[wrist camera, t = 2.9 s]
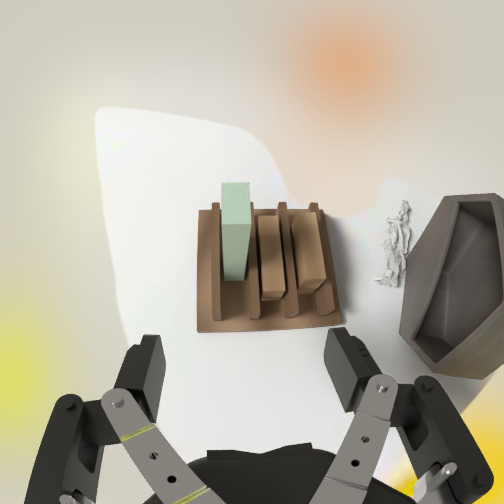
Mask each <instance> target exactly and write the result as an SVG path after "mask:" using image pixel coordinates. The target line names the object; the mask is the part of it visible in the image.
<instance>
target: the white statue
mask: <svg viewBox="0 0 504 504" xmlns="http://www.w3.org/2000/svg"><path fill="white" fill-rule="evenodd" d="M403 201H404V202H403V204H402V206H403V207H400V208H402V209H401V211H400V212H399V217H388V219H386V220H387V221H386V222H388V223H389V224H390V225H391V226H392V227H390V228H389V229H388V231H389V233H390V232H391V230H392V232H391V235H390V238H389V239H388V240H385V242H384V243H383V244H382V247H383V248H384V249H386V251H385V253H386V257H387V265H386V267H387V268H386V271H385V273H384V274H383V275H381V276H379V277H376V278H374V281H375V280H380V281H381V282H380V285H381V284H385V285H389V286H390V285H392V286H393V287H396V286H397V285H398V281H397V277H398V275H399V276H400V277H402V276H403V275H404V274H403V275H402V273H403V271H404V270H405V265H406V259H405V256H404V254H406V253H407V247H408V240H409V237H410V228H409V227H408V226H407V222H408V216H407V211H408V209H410V210H412V209H411V208H410V207H409V205H408V202H407V201H406V200H403ZM406 219H407V221H406Z"/></svg>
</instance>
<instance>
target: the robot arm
mask: <svg viewBox="0 0 504 504" xmlns="http://www.w3.org/2000/svg"><path fill="white" fill-rule="evenodd" d="M324 363H325V366H326V368H327V370H328V373H329V375H330V377H331V380H332V382H333V384H334V387H335V389H336V392H337V394H338V396H339V399H340V401H341V404H342V406H343V408H344V411H345V413H347V412H352V411H354V414H355V416H354V419H353V421H352V423H351V425H350V428H349V430H348V432H347V434H346V436H345V438H344V440H343V442H342V445H341V447H340V449H339V451H338V453H337V455H336V454H334V453H331V452H328V451H325V450H320V449H313V448H312V444H311V442H310V443H303V444H296V445H288V446H284V447H281V448H278V449H275V450H272V451H269V452H265V453H262V454H257V453H250V452H243V451H237V450H207V457H203V458H200V459H197V460H194V461H192V462H190V463H188V464H186V463H185V462H184V461H183V460H182V458H181V457H180V456H179V455H178V454H177V452H176V451H175V450H174V449H173V448H172V446H171V445H170V444H169V443H168V441H167V440H166V439H165V438H164V436H163V435H162V434H161V432H160V431H159V430H158V428H157V427H156V426H155V425H152V424H151V423H156V419H157V413H158V407H159V402H160V396H161V391H162V386H163V381H164V376H165V370H166V362H165V356H164V352H163V347H162V342H161V338H160V335H143V338H142V340H141V343H140V345H133V346H132V347H131V348H130V349H129V350H128V351H127V353H126V356H125V358H124V361H123V363H122V367H121V369H120V371H119V374H118V377H117V380H116V383H115V386H114V388H113V389H111V390H109V391H108V392H106V393H105V394H104V395H103V396H102V399H100V400H95V401H88V402H83V401H82V399H81V398H80V397H79V396H78V395H75V394H66V395H64V396H62V397H60V398H59V399H58V400H57V402H56V404H55V406H54V409H53V412H52V414H51V416H50V419H49V422H48V424H47V427H46V430H45V433H44V436H43V438H42V441H41V445H40V447H39V451H38V454H37V457H36V460H35V463H34V467H33V470H32V474H31V477H30V481H29V485H28V489H27V493H26V497H25V501H24V504H95V503H96V495H97V488H98V481H99V475H100V468H101V463H102V457H103V451H104V446H105V445H111V444H119V443H122V444H123V445H124V447H125V449H126V450H127V452H128V453H129V455H130V457H131V458H132V460H133V461H134V463H135V465H136V466H137V467H138V469H139V471H140V472H141V473H142V475H143V476H144V478H145V479H146V481H147V482H148V483H149V485H150V486H151V488H152V489H153V490H154V492H155V494H153V495H152V496H151V497H150V498H149V499H148V500H147V501H145V502H144V503H143V504H472V503H474V502H475V501H476V500H478V499H479V498H481V497H482V496H483V495H485V494H486V493H487V492H488V491H489V490H490V489H491V488H492V486H493V482H494V476H493V473H492V471H491V469H490V467H489V465H488V464H487V462H486V460H485V458H484V456H483V454H482V452H481V450H480V449H479V447H478V445H477V444H476V442H475V440H474V438H473V436H472V435H471V433H470V431H469V429H468V428H467V426H466V424H465V423H464V421H463V419H462V418H461V416H460V415H459V413H458V411H457V410H456V408H455V406H454V405H453V403H452V402H451V400H450V399H449V397H448V395H447V394H446V392H445V391H444V389H443V388H442V386H441V385H440V383H439V382H438V381H437V380H436V379H435V378H433V377H431V376H420V377H418V378H417V379H416V380H415V382H414V384H397V382H396V381H395V380H394V379H393V378H392V377H390V376H388V375H384V374H382V372H381V371H380V369H379V367H378V366H377V364H376V363H375V361H374V359H373V358H372V356H370V353H369V351H368V350H367V348H366V346H365V345H364V343H363V342H362V341H361V340H360V339H358V338H357V337H356V336H350V335H349V333H348V331H347V330H346V328H345V327H340V328H331V329H329V330H328V334H327V340H326V345H325V350H324ZM389 427H396V429H397V431H398V433H399V436H400V438H401V440H402V442H403V445H404V447H405V450H406V452H407V454H408V457H409V459H410V461H411V464H412V466H413V469H414V471H415V474H416V476H417V479H418V481H417V482H416V483H415V486H414V500H413V499H412V498H411V497H409V496H407V495H405V494H403V493H401V492H399V491H397V490H395V489H394V488H392V487H390V486H388V485H386V484H384V483H383V482H381V481H379V480H377V479H376V478H374V477H372V476H373V473H374V470H375V468H376V465H377V463H378V460H379V457H380V454H381V452H382V449H383V446H384V443H385V440H386V437H387V434H388V431H389Z"/></svg>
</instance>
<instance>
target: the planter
mask: <svg viewBox="0 0 504 504" xmlns="http://www.w3.org/2000/svg"><path fill="white" fill-rule="evenodd" d="M399 334H400V335H401V336H402V337H403V338H404V340H405V341H406V342H407V343H408V344H409V345H410V346H411V348H412V349H413V350H414V351H415V352H416V353H417V354H418V356H419V357H420V358H421V359H422V360H423V361H424V363H425V364H426V365H427V366H428V367H429V369H430V370H431V371H432V372H433V373H437V374H443V375H450V376H457V377H464V378H471V379H480V380H482V379H484V378H485V377H487V376H488V375H489V374H491V373H492V372H493V371H495V370H496V369H497V368H499V367H500V366H501V365H502V364H504V199H503V198H501V197H500V196H498V195H497V194H495V193H488V194H470V195H453V196H444V198H443V199H442V201H441V203H440V205H439V206H438V208H437V210H436V212H435V213H434V215H433V217H432V219H431V220H430V222H429V224H428V225H427V227H426V229H425V230H424V232H423V233H422V235H421V237H420V238H419V240H418V241H417V243H416V245H415V246H414V248H413V249H412V251H411V252H410V254H409V255H408V257H407V261H406V275H405V287H404V297H403V306H402V315H401V322H400V329H399Z"/></svg>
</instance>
